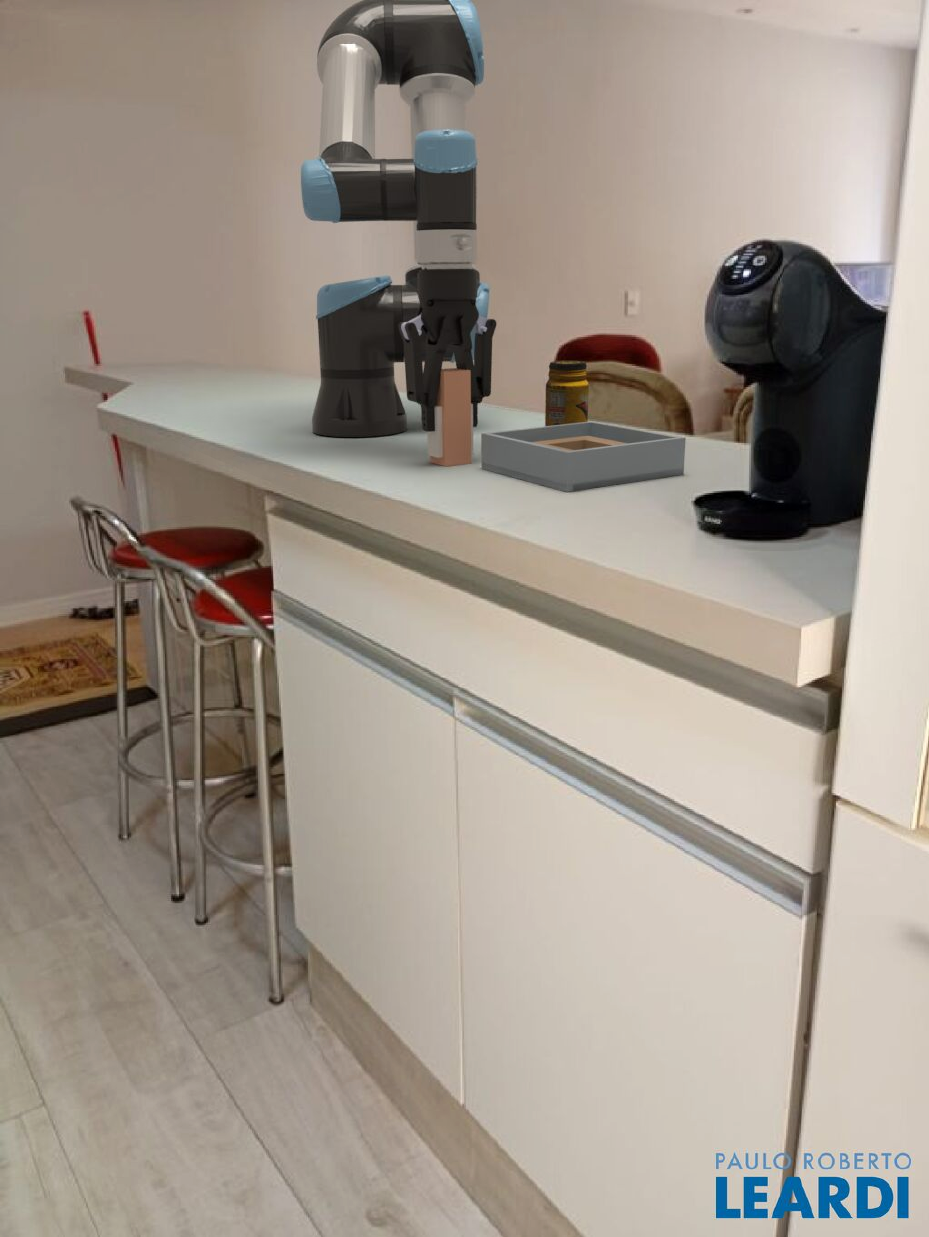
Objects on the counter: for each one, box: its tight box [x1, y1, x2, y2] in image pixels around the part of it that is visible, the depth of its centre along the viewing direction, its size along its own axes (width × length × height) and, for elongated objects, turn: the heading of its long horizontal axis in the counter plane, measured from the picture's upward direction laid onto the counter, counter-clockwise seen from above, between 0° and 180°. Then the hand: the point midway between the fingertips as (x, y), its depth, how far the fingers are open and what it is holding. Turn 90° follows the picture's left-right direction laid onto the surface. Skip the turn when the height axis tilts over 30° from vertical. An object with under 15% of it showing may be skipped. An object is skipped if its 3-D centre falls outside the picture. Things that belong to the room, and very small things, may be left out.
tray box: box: [480, 420, 687, 493], centre depth 126 cm, size 18×18×4 cm
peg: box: [429, 367, 472, 467], centre depth 132 cm, size 4×4×12 cm
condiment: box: [544, 360, 590, 426], centre depth 142 cm, size 7×8×12 cm
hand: (450, 453), depth 133 cm, fingers closed on peg, 4 cm apart
